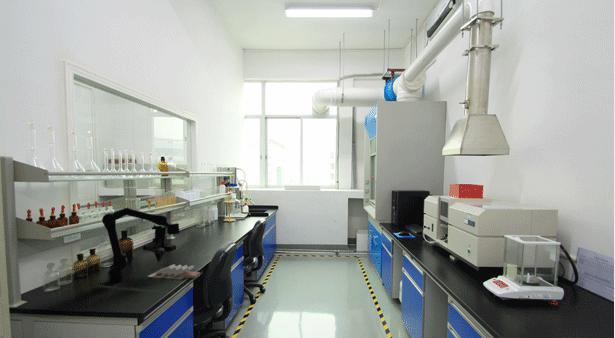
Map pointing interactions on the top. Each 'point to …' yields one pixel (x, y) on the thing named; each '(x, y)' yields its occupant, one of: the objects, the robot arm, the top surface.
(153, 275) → the beige flat rectangular board
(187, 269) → the domino
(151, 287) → the top surface
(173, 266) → the domino
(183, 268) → the domino
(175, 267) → the domino
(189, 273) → the domino
